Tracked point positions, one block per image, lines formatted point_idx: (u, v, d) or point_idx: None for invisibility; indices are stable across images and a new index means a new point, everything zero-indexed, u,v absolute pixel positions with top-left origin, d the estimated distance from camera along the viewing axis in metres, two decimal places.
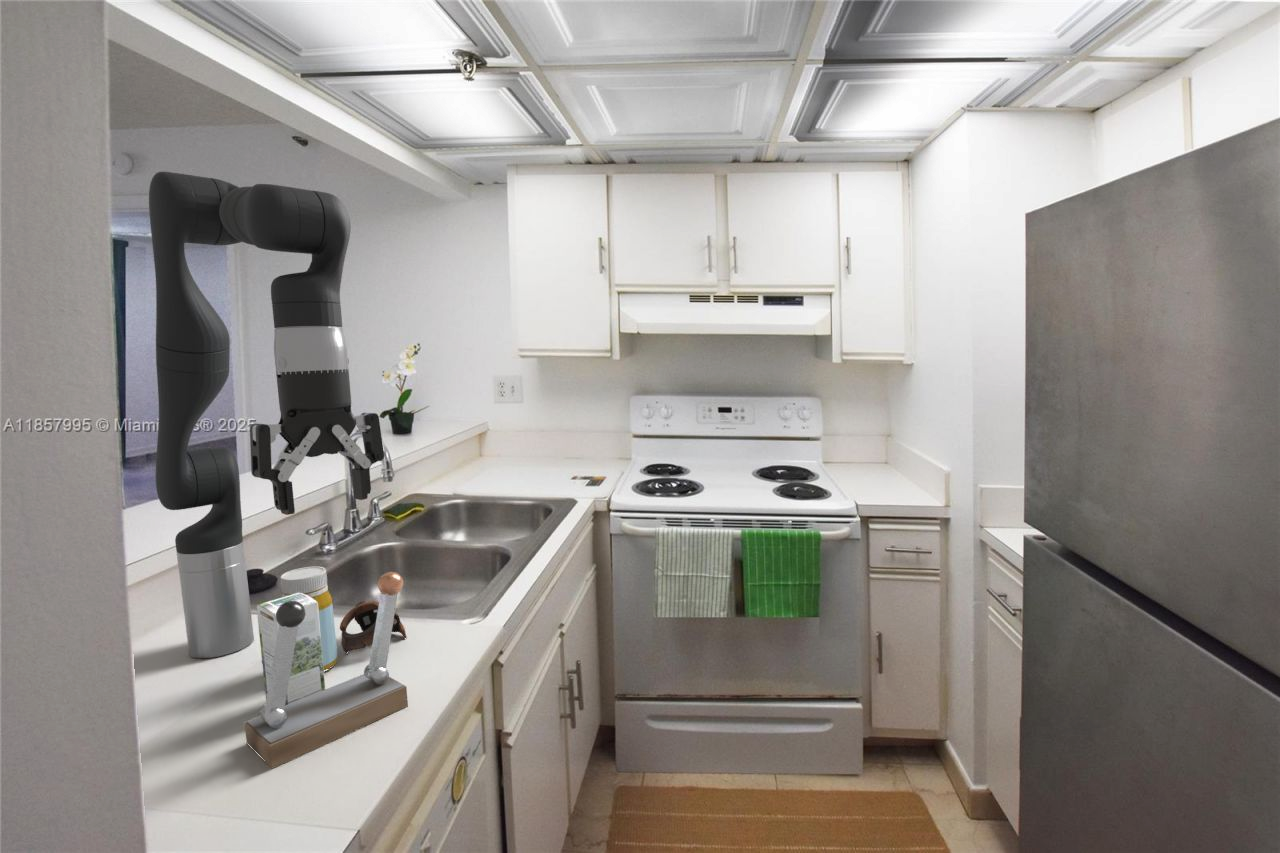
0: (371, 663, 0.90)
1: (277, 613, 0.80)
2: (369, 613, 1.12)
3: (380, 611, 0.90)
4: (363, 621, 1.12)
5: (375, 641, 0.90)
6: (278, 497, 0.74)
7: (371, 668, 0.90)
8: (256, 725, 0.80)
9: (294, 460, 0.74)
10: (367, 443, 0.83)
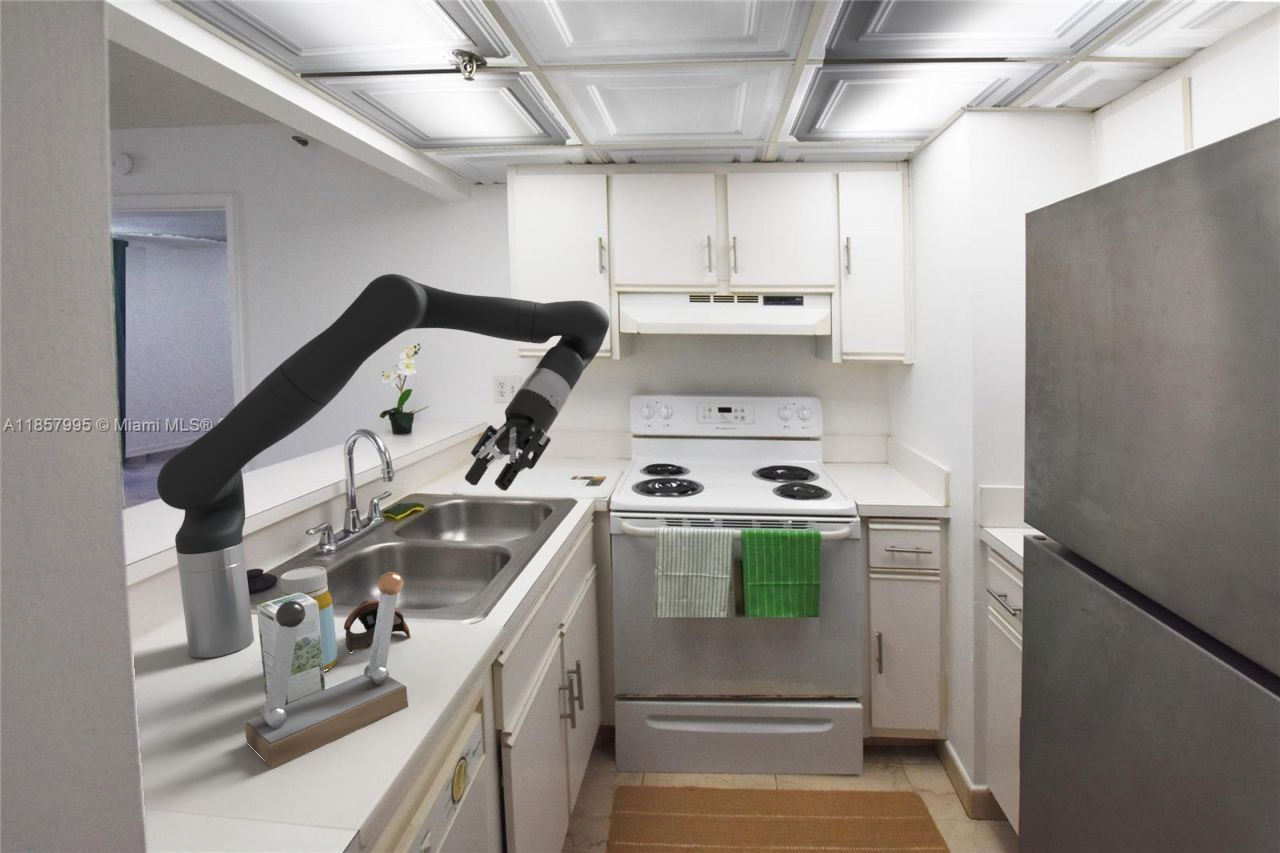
0: (371, 663, 0.90)
1: (277, 613, 0.80)
2: (373, 612, 1.12)
3: (380, 611, 0.90)
4: (367, 621, 1.12)
5: (375, 641, 0.90)
6: (513, 478, 1.00)
7: (371, 668, 0.90)
8: (256, 725, 0.80)
9: None
10: (481, 445, 1.08)
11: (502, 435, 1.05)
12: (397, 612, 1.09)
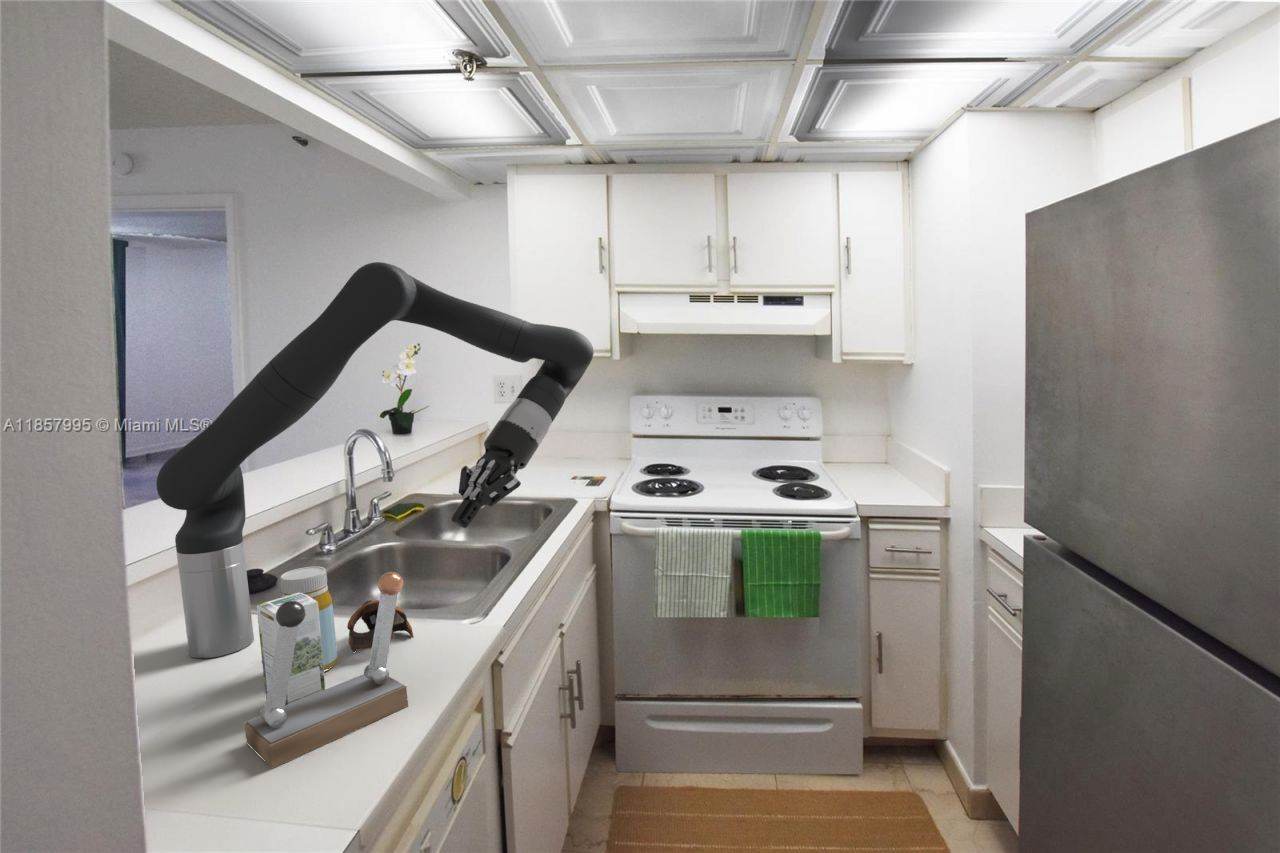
0: (371, 663, 0.90)
1: (277, 613, 0.80)
2: (376, 612, 1.12)
3: (380, 611, 0.90)
4: (370, 620, 1.12)
5: (375, 641, 0.90)
6: (473, 515, 0.99)
7: (371, 668, 0.90)
8: (256, 725, 0.80)
9: None
10: (465, 484, 1.04)
11: (483, 466, 1.03)
12: (400, 611, 1.10)
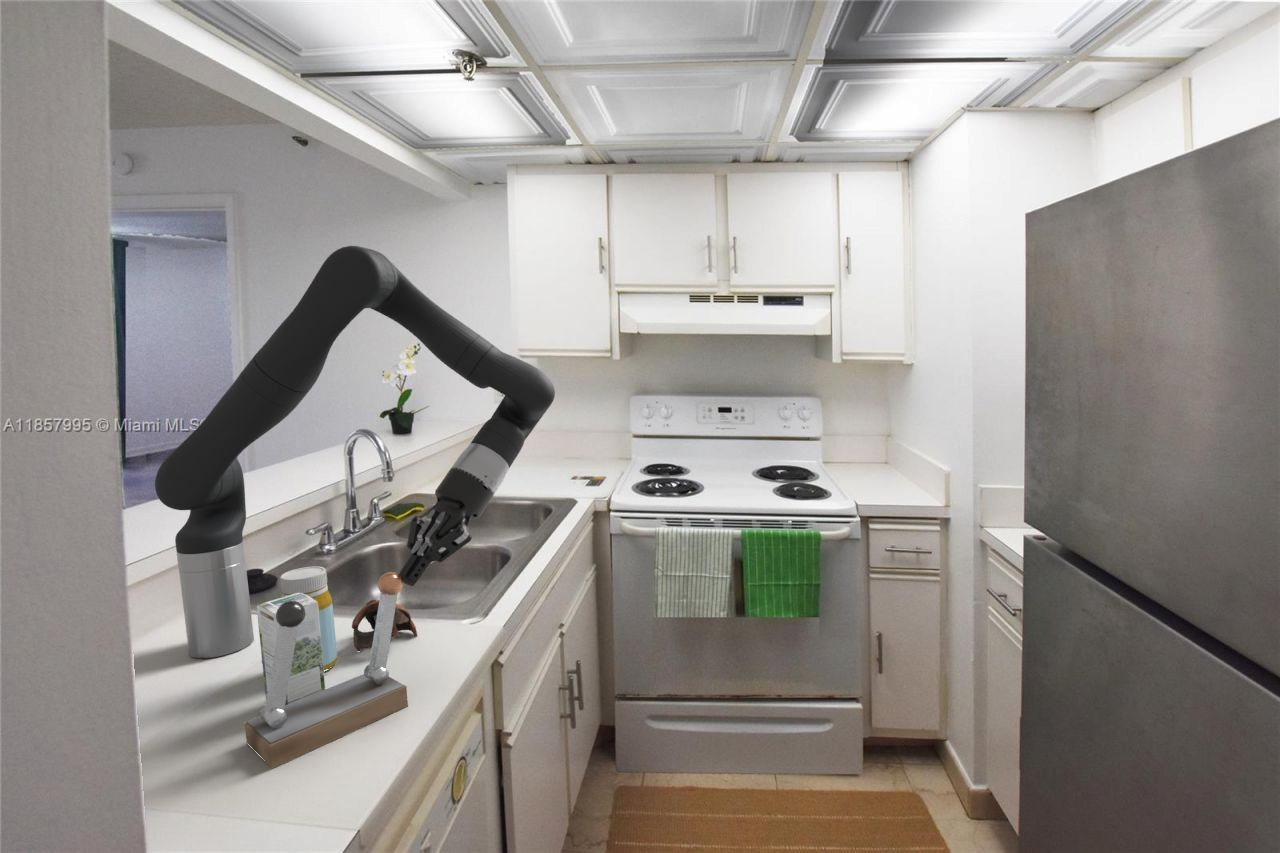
0: (371, 663, 0.90)
1: (277, 613, 0.80)
2: None
3: (380, 611, 0.90)
4: (374, 620, 1.12)
5: (375, 641, 0.90)
6: (421, 572, 0.93)
7: (371, 668, 0.90)
8: (256, 725, 0.80)
9: None
10: (415, 536, 0.97)
11: (434, 518, 0.96)
12: (404, 611, 1.10)
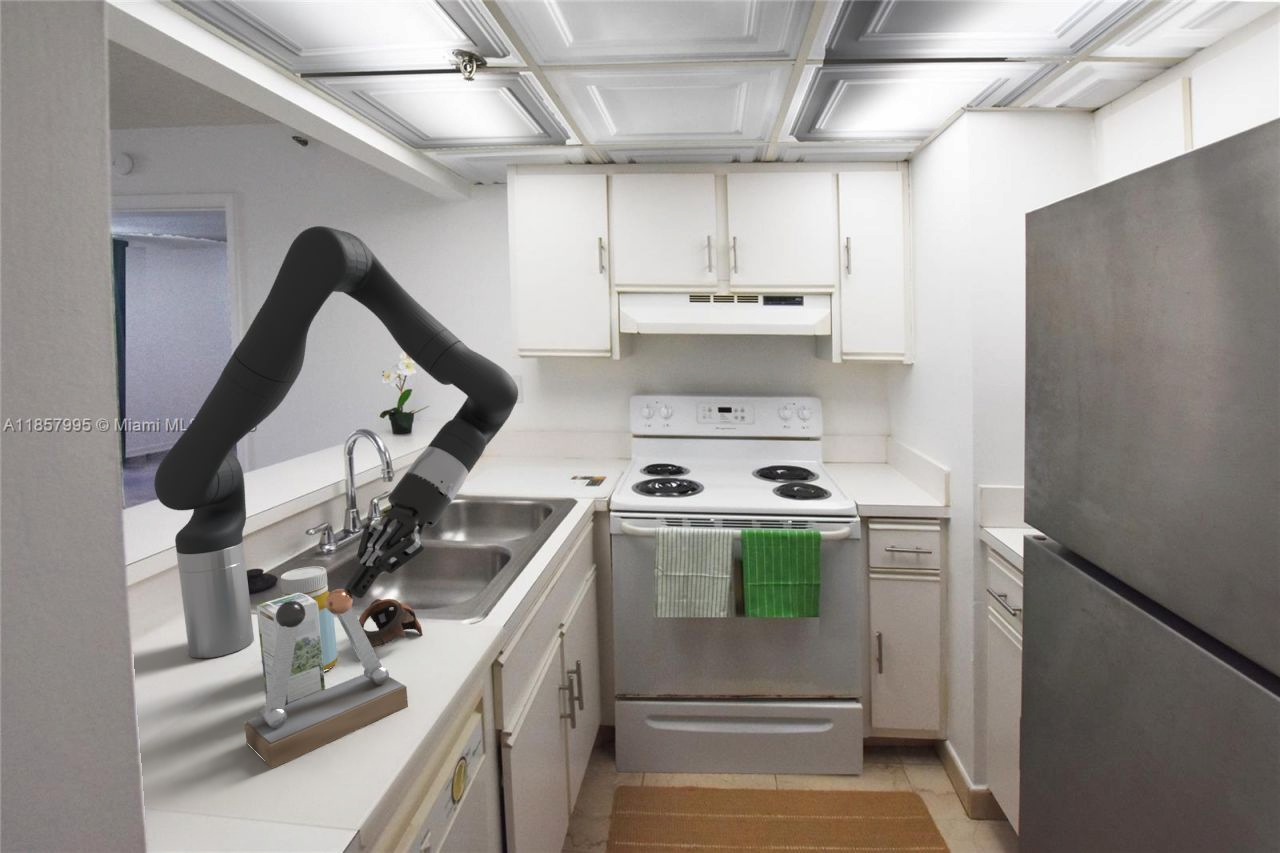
0: (366, 669, 0.89)
1: (277, 613, 0.80)
2: (385, 611, 1.12)
3: (345, 628, 0.87)
4: (379, 619, 1.12)
5: (357, 652, 0.88)
6: (370, 584, 0.87)
7: (368, 672, 0.89)
8: (256, 725, 0.80)
9: None
10: (366, 545, 0.92)
11: (386, 526, 0.91)
12: (410, 610, 1.10)
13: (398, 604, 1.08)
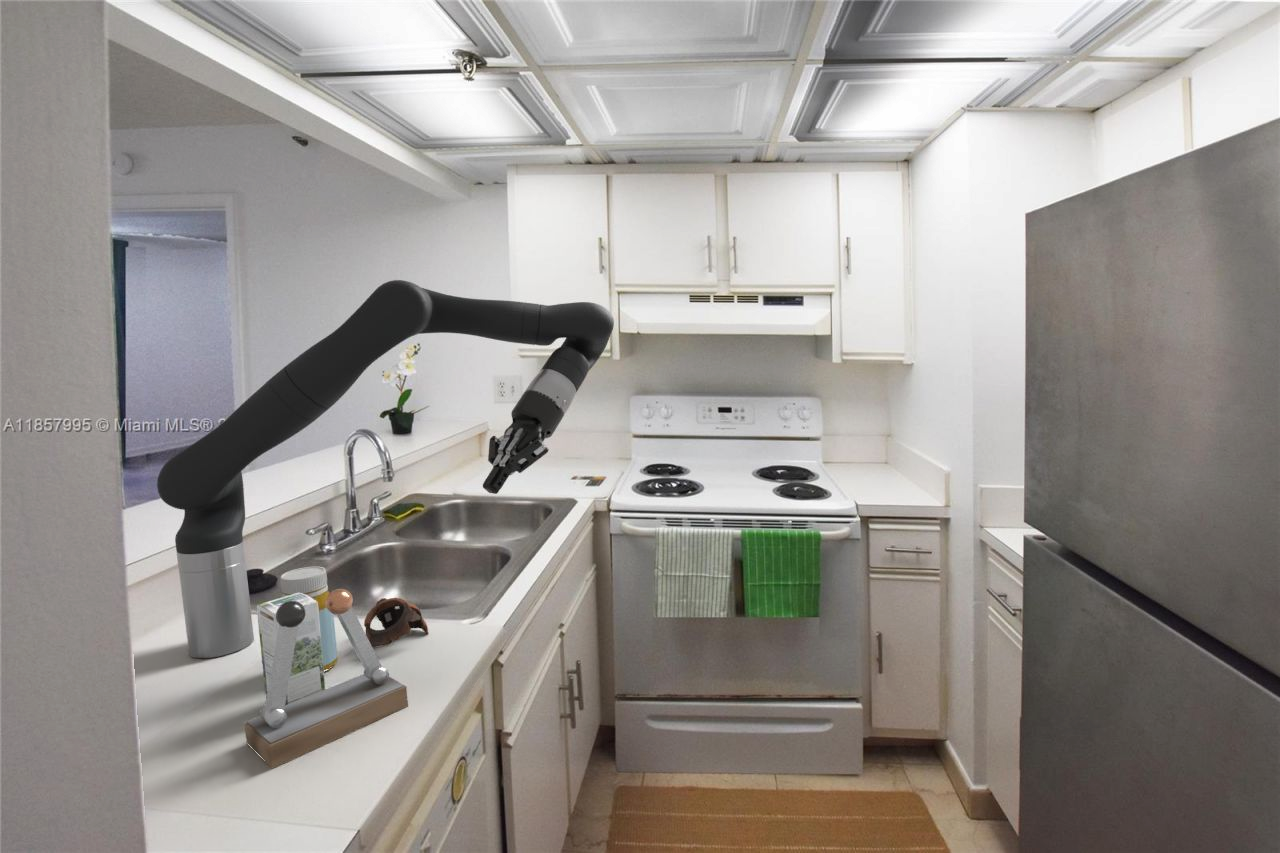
0: (366, 669, 0.89)
1: (277, 613, 0.80)
2: (391, 610, 1.13)
3: (345, 628, 0.87)
4: (384, 618, 1.13)
5: (357, 652, 0.88)
6: (503, 482, 1.03)
7: (368, 672, 0.89)
8: (256, 725, 0.80)
9: None
10: (494, 452, 1.07)
11: (512, 435, 1.06)
12: (416, 609, 1.11)
13: (404, 603, 1.09)
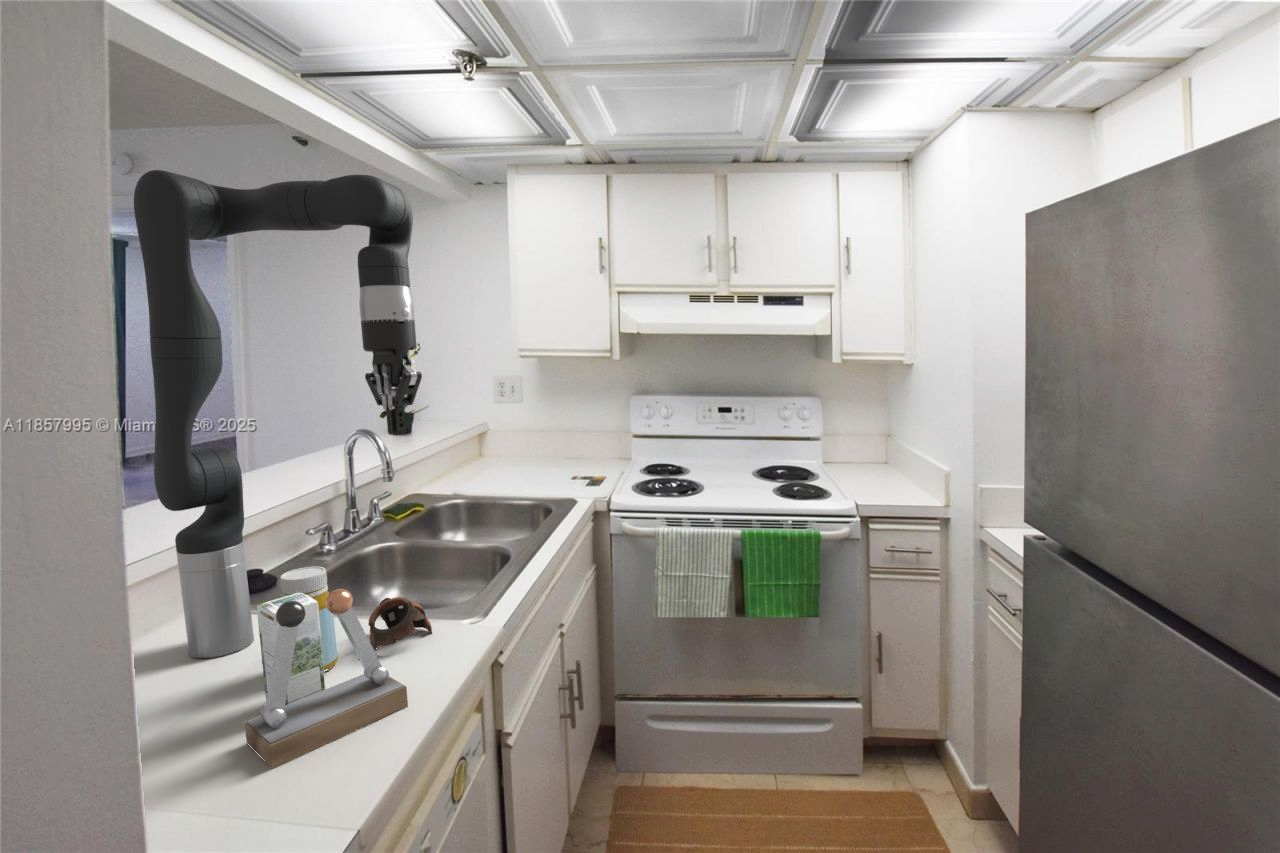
0: (366, 669, 0.89)
1: (277, 613, 0.80)
2: (394, 609, 1.13)
3: (345, 628, 0.87)
4: (388, 617, 1.13)
5: (357, 652, 0.88)
6: (404, 420, 1.00)
7: (368, 672, 0.89)
8: (256, 725, 0.80)
9: None
10: (378, 392, 1.02)
11: (380, 372, 0.99)
12: (420, 608, 1.11)
13: (409, 602, 1.09)
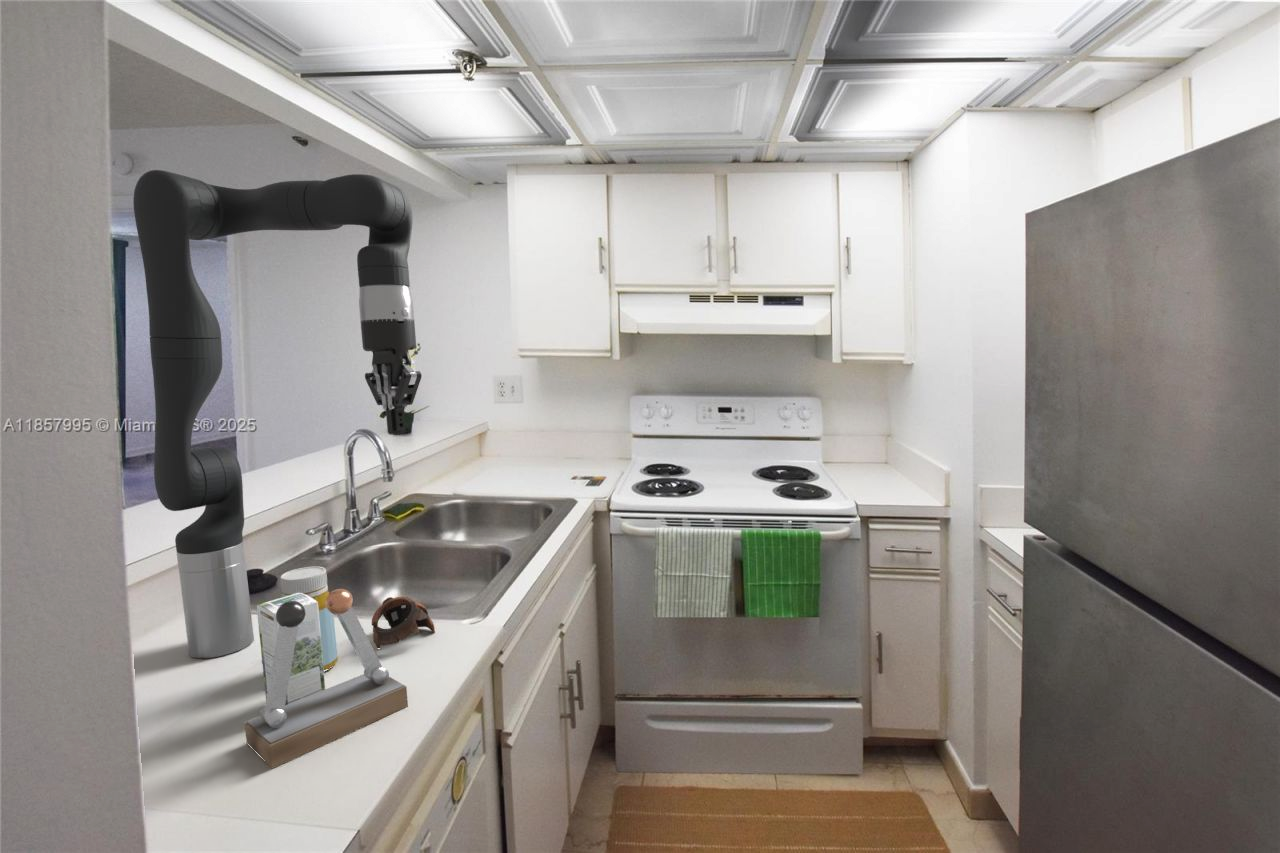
0: (366, 669, 0.89)
1: (277, 613, 0.80)
2: (397, 609, 1.13)
3: (345, 628, 0.87)
4: (391, 617, 1.13)
5: (357, 652, 0.88)
6: (404, 420, 1.00)
7: (368, 672, 0.89)
8: (256, 725, 0.80)
9: None
10: (378, 392, 1.02)
11: (380, 372, 0.99)
12: (423, 607, 1.11)
13: (412, 602, 1.09)
